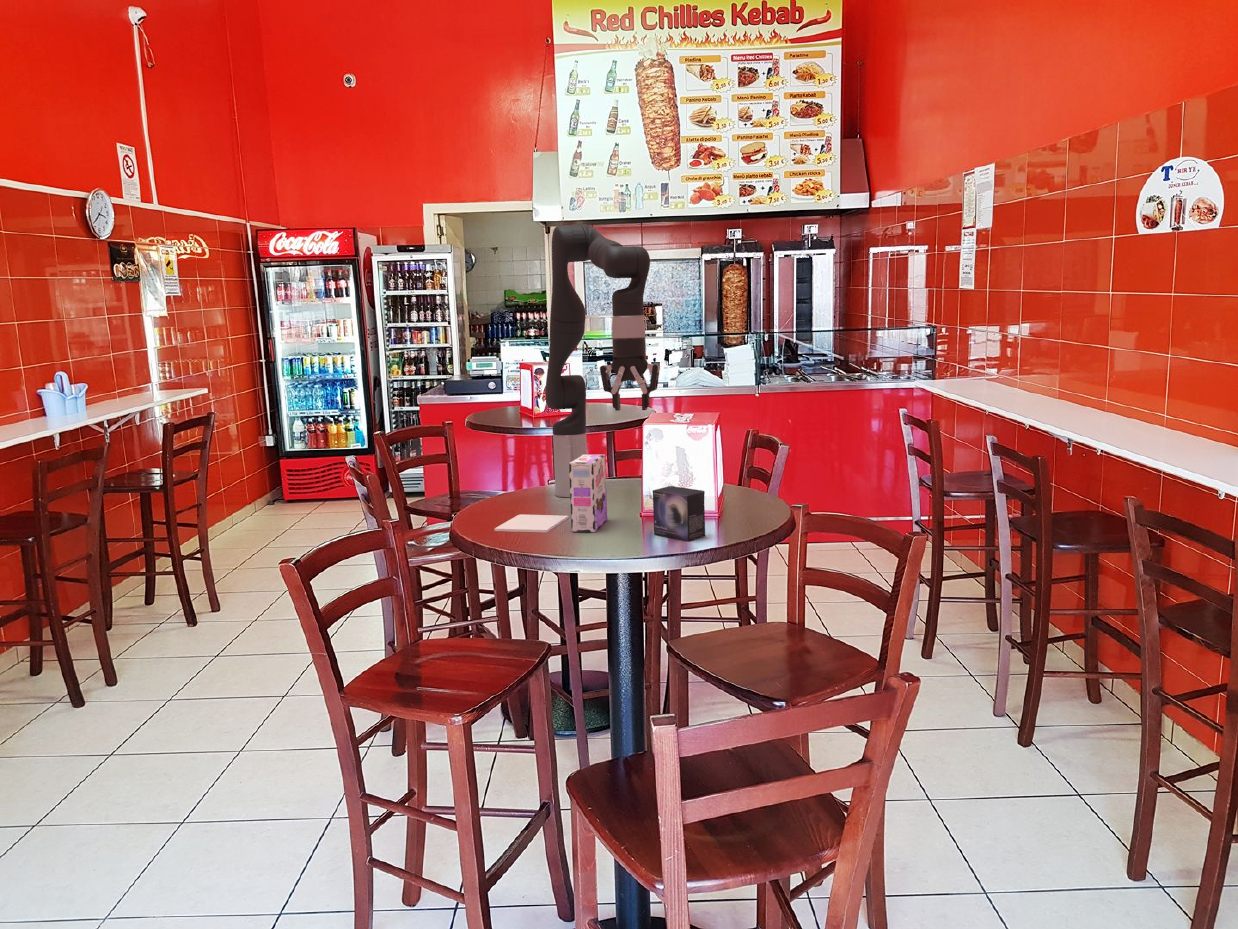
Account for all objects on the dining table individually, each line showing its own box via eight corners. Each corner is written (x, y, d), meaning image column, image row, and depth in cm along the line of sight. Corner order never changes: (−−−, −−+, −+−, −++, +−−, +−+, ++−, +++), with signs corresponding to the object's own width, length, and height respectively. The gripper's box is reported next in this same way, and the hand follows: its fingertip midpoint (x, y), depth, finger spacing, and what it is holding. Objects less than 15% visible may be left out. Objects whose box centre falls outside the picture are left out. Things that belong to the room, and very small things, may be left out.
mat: (519, 516, 240) (519, 514, 240) (568, 518, 237) (568, 515, 237) (494, 531, 225) (494, 528, 225) (546, 532, 222) (546, 530, 222)
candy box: (595, 533, 220) (592, 462, 217) (570, 532, 221) (567, 462, 219) (608, 520, 233) (605, 453, 231) (584, 519, 235) (582, 453, 232)
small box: (651, 535, 216) (650, 489, 214) (671, 530, 220) (670, 485, 219) (687, 542, 208) (686, 494, 207) (706, 536, 213) (705, 490, 211)
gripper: (663, 334, 219) (665, 408, 222) (603, 336, 223) (605, 408, 226) (655, 335, 212) (657, 411, 215) (593, 337, 216) (596, 412, 218)
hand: (631, 409), depth 220 cm, fingers open, 5 cm apart
